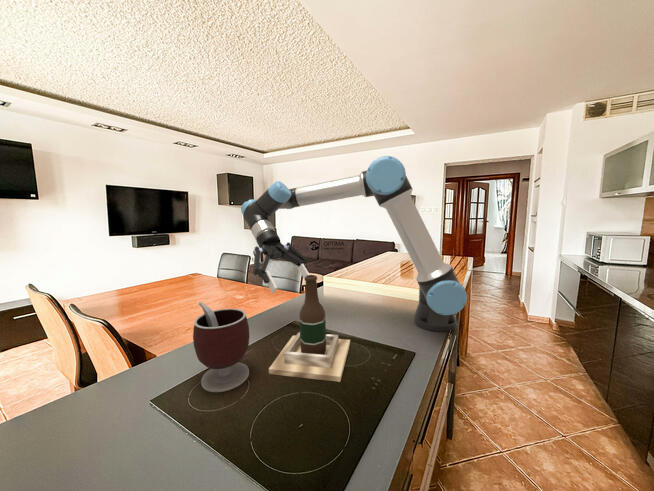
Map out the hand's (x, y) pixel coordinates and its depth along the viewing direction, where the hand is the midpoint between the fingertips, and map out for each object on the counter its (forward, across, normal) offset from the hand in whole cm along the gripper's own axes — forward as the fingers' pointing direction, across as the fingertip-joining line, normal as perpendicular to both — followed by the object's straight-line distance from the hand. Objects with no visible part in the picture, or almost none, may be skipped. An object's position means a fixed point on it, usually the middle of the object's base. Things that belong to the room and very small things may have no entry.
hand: (293, 285), depth 85 cm
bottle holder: (+21, 0, -8) cm, 23 cm away
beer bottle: (+20, 0, -8) cm, 21 cm away
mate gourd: (+14, +23, -16) cm, 31 cm away
